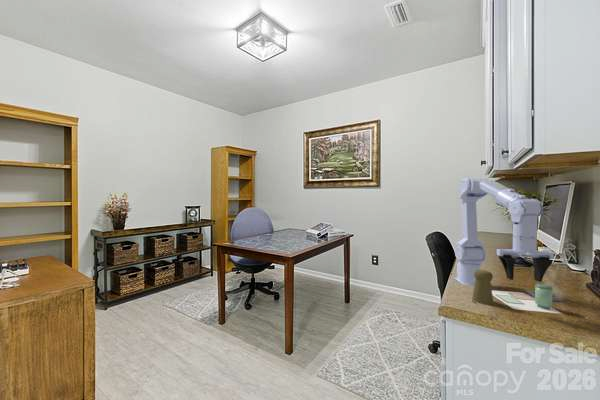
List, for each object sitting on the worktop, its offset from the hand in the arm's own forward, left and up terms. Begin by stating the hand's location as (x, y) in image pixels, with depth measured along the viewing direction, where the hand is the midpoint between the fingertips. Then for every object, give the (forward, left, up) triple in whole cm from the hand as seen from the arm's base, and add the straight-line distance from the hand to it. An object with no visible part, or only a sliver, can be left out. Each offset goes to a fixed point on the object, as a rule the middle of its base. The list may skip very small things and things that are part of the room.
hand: (523, 279), depth 80 cm
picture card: (-8, +3, -10) cm, 13 cm away
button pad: (-14, +14, -10) cm, 22 cm away
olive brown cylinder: (-4, -10, -10) cm, 14 cm away
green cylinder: (-3, +7, -9) cm, 12 cm away
